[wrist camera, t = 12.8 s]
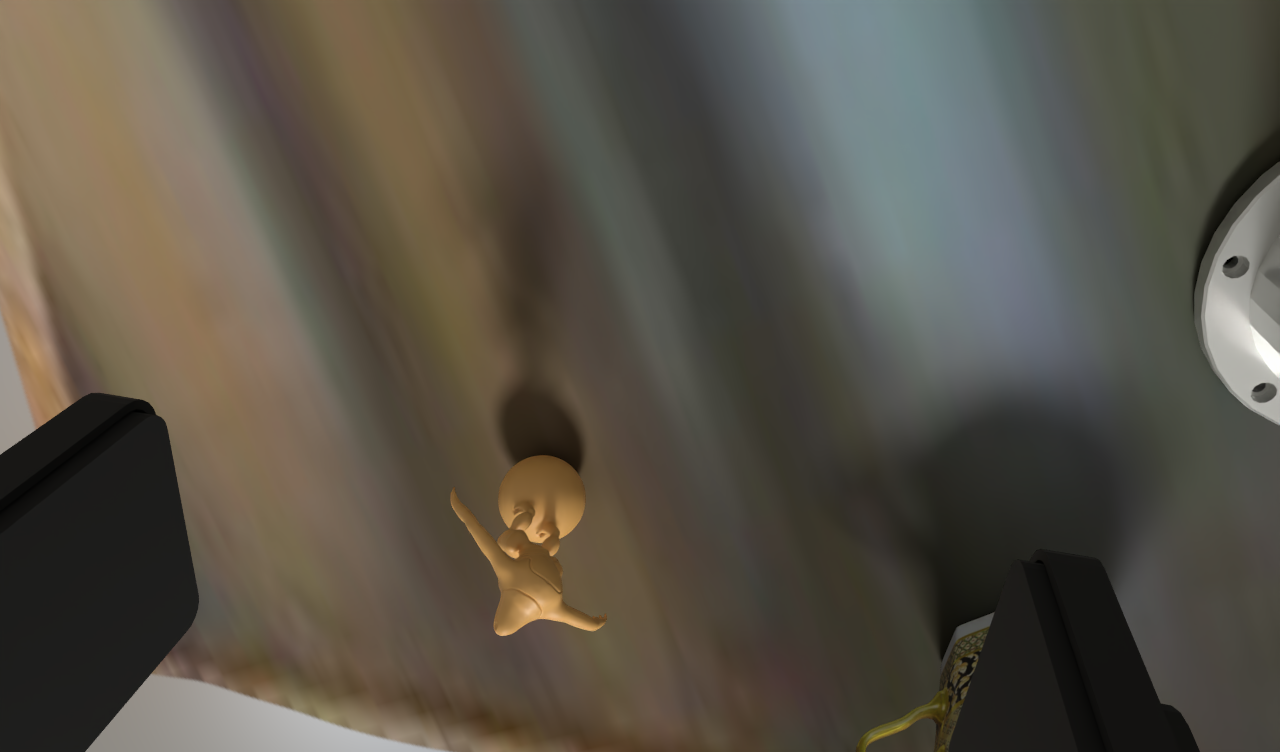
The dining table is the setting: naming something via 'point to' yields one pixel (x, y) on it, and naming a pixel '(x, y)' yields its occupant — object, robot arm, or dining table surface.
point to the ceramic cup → (944, 687)
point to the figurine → (538, 512)
